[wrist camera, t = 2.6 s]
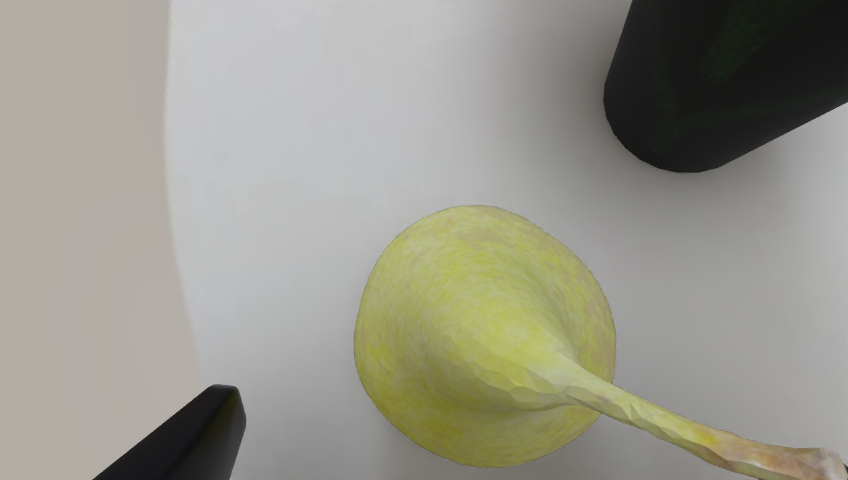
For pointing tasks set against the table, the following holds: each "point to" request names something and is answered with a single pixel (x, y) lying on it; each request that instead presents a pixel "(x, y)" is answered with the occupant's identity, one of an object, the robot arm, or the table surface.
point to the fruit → (515, 351)
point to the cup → (723, 76)
